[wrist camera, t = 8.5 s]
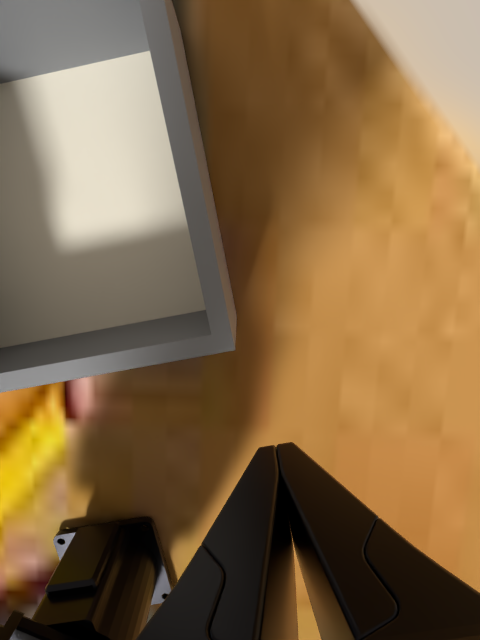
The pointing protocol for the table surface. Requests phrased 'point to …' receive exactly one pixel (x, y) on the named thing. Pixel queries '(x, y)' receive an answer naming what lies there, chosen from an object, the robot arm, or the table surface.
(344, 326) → the table surface
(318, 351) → the table surface
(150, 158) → the open gray box
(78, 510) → the table surface
